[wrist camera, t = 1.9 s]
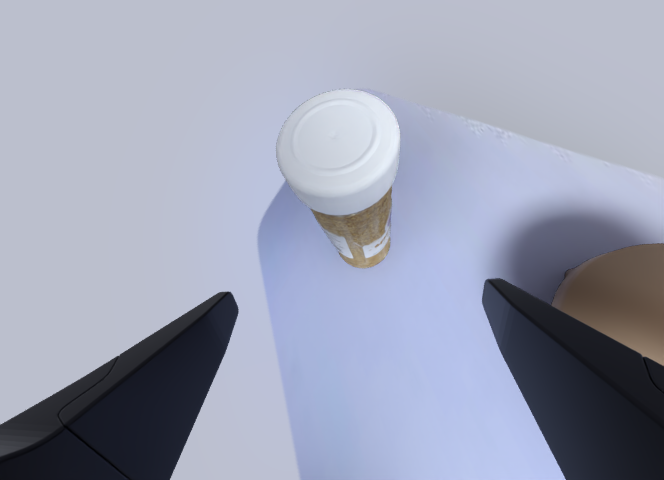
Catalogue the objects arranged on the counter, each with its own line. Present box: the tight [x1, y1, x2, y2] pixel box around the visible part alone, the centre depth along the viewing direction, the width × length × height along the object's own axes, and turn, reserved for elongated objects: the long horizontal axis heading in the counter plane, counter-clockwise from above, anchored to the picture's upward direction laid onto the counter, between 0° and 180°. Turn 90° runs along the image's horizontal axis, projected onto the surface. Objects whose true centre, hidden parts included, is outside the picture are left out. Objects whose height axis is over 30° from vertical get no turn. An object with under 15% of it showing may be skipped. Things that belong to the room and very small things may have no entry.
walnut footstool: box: [551, 243, 664, 366], centre depth 14 cm, size 11×11×4 cm
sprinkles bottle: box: [276, 89, 400, 268], centre depth 15 cm, size 5×5×13 cm
